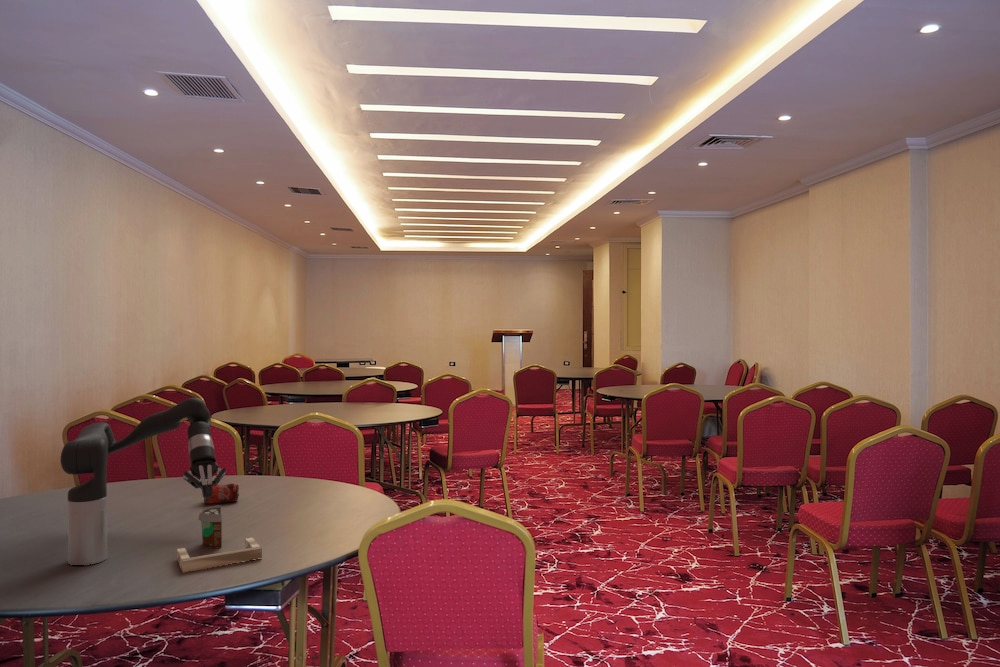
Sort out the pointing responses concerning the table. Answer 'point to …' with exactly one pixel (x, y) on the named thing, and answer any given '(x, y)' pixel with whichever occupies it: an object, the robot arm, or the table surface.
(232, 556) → the wooden bridge piece
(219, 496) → the beverage can
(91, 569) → the table surface
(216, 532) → the food container
